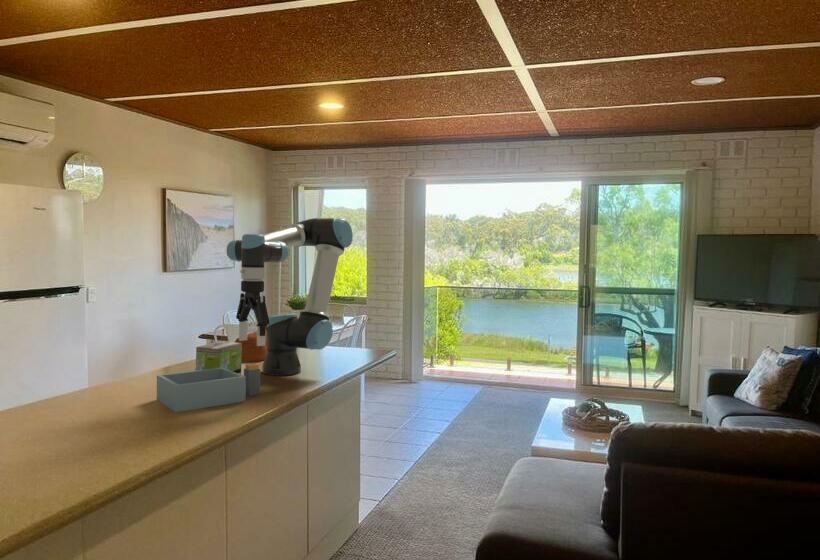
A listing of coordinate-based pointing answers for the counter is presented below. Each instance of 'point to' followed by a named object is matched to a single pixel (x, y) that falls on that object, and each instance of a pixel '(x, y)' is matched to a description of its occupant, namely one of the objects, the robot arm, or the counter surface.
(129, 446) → the counter surface
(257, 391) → the block
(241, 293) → the robot arm
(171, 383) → the walled box
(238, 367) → the tea box
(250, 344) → the bread
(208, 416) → the counter surface
